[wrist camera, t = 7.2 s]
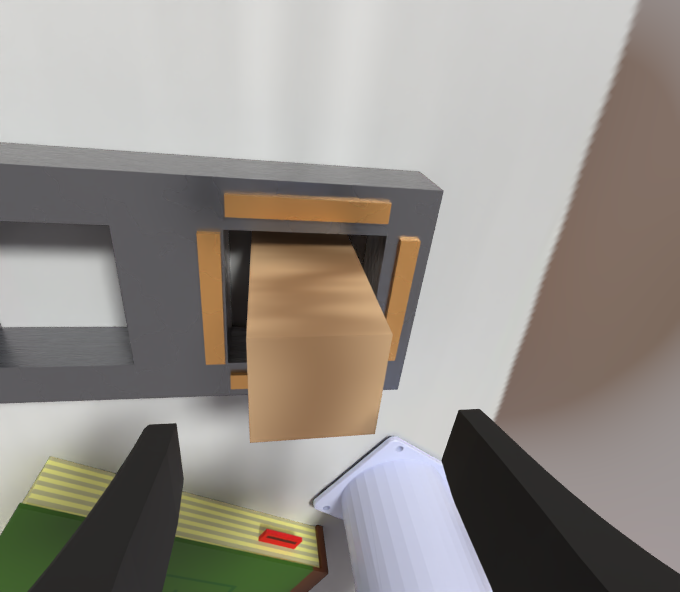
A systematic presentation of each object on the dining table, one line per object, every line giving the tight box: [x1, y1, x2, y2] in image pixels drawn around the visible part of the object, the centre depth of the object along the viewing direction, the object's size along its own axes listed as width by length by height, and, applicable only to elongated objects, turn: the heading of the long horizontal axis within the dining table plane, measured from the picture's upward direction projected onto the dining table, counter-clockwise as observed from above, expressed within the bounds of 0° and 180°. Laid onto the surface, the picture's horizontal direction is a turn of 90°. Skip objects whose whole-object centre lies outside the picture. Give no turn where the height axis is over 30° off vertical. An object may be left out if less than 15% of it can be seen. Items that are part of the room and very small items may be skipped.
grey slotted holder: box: [0, 142, 443, 403], centre depth 17 cm, size 20×10×3 cm, turn 84°
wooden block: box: [246, 231, 393, 443], centre depth 16 cm, size 4×4×8 cm
